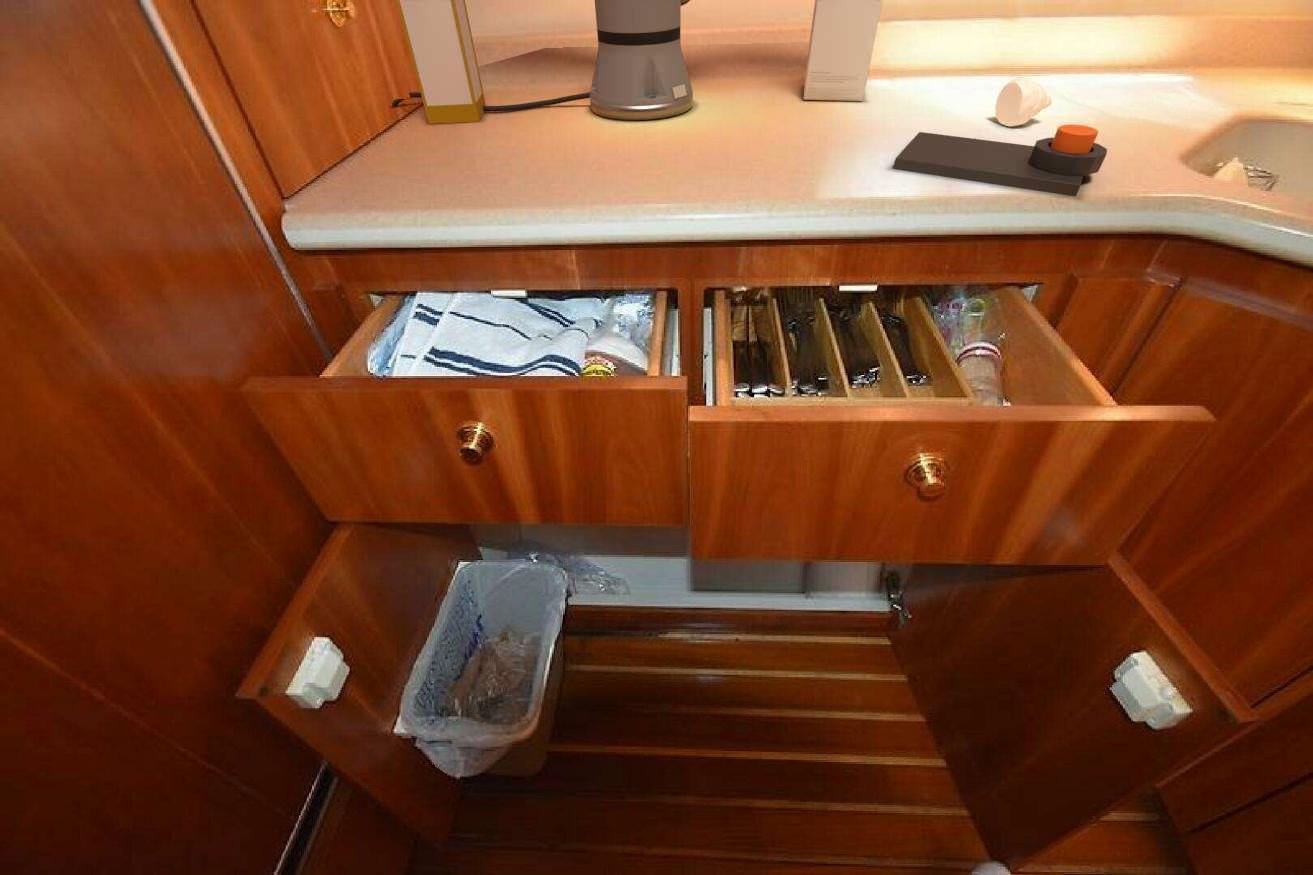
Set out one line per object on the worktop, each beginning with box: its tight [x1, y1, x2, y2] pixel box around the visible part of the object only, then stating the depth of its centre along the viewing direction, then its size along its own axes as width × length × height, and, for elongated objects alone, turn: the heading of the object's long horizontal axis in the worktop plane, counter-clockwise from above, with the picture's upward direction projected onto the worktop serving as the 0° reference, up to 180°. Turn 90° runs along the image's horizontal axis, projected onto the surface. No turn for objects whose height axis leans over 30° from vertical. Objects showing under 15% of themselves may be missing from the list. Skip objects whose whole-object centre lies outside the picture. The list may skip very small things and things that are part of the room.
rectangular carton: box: [802, 0, 883, 102], centre depth 85 cm, size 9×9×15 cm
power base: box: [892, 131, 1108, 198], centre depth 64 cm, size 19×11×3 cm, turn 59°
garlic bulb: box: [995, 76, 1053, 127], centre depth 75 cm, size 6×6×5 cm
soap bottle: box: [395, 0, 487, 125], centre depth 77 cm, size 7×13×24 cm, turn 4°
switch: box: [1050, 124, 1099, 154], centre depth 60 cm, size 4×4×2 cm
